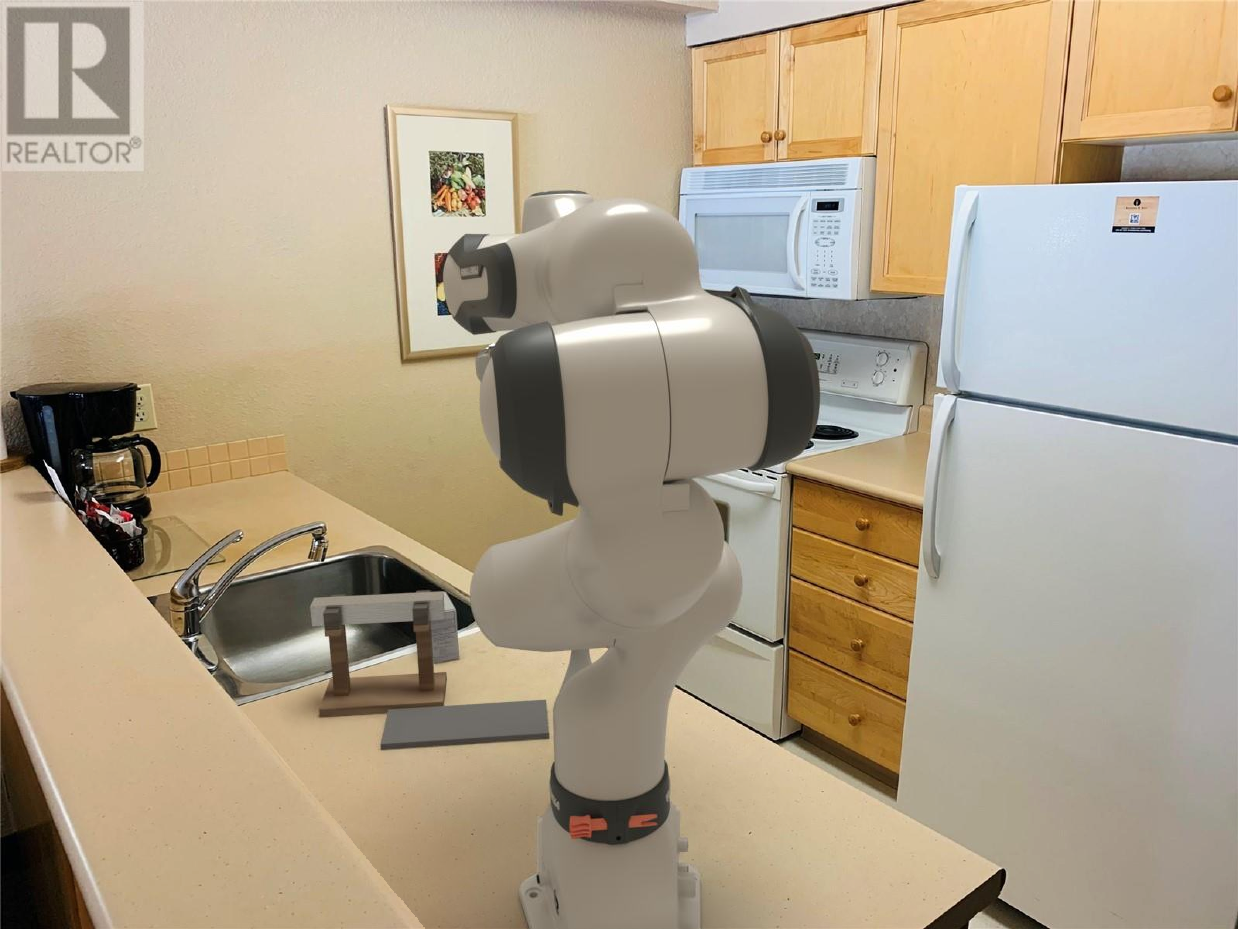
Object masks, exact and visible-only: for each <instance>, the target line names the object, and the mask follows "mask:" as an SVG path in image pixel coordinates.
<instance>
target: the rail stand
mask: <svg viewBox="0 0 1238 929" xmlns="http://www.w3.org/2000/svg"><path fill="white" fill-rule="evenodd" d="M415 591H416V592H415V593H421V592H432V590H431V589H430V590H429V589H427V590H415ZM340 596H347V595H346V593H345V594H331V595H330V597H340ZM412 610H413V621H412V623H413V624H412V625H413V626H412V627H413V633H415V637H416V638H415V640H416V641H415V642H416V656H417V669H418V670H417V671H418V673H408V674H407V673H406V674H405V673H404V674H388V675H373V676H358V677H357V676H356V677H354V676H353V677H350V675H351V674H350V667H349V666H350V665H349V654H348V644H347V642H348V641H347V631H346V625H341V616H340V608H337V609H325V610H324V612H323V617H324V626H323V627H324V637H326V638H328V643H329V652H330V667H331V674H332V675H331V676H332V678H329V681H328V683H327V687H326V689H325V692H324V695H323V697H322V700H321V704H319V708H318V713H319V716H318V717H319V718H328V717H343V716H345V717H346V716H359V715H374V714H375V715H376V714H377V715H378V714H387V713H388V709H403V708H419V707H435V706H445V698H446V691H447V690H446V689H447V680H448V677H447V676H448V675H447V674H448V673H447V671H441V672H440V671H438V672H435V669H434V664H435V663H433V647H432V631H431V620H429V614H428V604H415V605H413V608H412Z"/></svg>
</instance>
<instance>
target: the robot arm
mask: <svg viewBox="0 0 1238 929" xmlns="http://www.w3.org/2000/svg"><path fill="white" fill-rule="evenodd" d="M593 197H594V196H592V195H591V194H589V193H587V192H585V191H581V190H572V189H571V190H570V189H565V190H563V189H562V190H548V191H539V192H536V193H533V194H531V195H529V196H528V197H526V198H525V199H524V202H523V208H522V209H523V210H522V211H523V212H522V219H521V220H522V222H521V233H510V234H509V233H508V234H507V233H506V234H489V233H465V234H463V235H462V236H461V237H460V238H459V239H458V240H457V241H456V242H455V243H454V244H453V245H452V246H451V248H450V249H449V250H448V251H447V254H446V260H445V262H444V267H443V274H442V276H443V277H442V283H443V284H442V285H443V286H442V287H443V293H444V298H445V302H446V306H447V308H448V310H449V312H450V314H451V317H452V319H453V320H454V321H455V322H456V323H457V324H458V325H459V326H460V327H462V328H463V329H464V330H466V331H467V332H468V333H470V334H472V335H473V336H476V335H484V334H493V333H494V334H495V333H498V332H504V331H505V332H506V331H507V333H505V334H502V335H500V337H498V339H497V341H496V342H494V343H489V344H487V347H486V348H483V349H482V350H480V351H479V352H478V353H477V354H476V356H475V357H476V358H475V361H474V362H475V371H476V377H477V379H478V380H479V381H480V386H479V414H480V421H481V425H482V429H483V432H484V435H485V438H486V440H487V442H488V444H489V446H490V448H491V450H492V451H493V454H495V456H496V458H497V459H498V464H499V468H500V469H501V470H502V471H503V472H504V473H505V474H506V475H507V477H508V478H510V480H511V481H513V483H515V484H516V485H517V486H518V487H519V488H521V489H522V490H523V491H525V492H526V493H528V494H531V495H533V496H535V497H537V498H540V499H543V500H545V501H547V505H548V508H549V510H550V513H551V514H554V515H557V516H560V517H563V515H564V504H567V505H570V506H573V507H576V508H578V507H579V511H578V513H577V515H576V516H575V518H573V519H572V518H571V519H569V520H568V521H565V522H561V523H560V524H558V525H554V526H553V527H551V528H548V529H544V530H541V531H540V532H536V533H533V534H530V535H527V536H523V537H519V538H515V539H512V540H508V541H504V542H500V543H497V544H494V545H493V544H492V545H490V547H489V548H488V549H487V550H486V551H485V553H483V554H482V556H481V557H480V559H479V560H478V562H477V564H476V566H475V567H474V571H473V574H472V576H471V581H470V586H469V587H470V588H469V601H470V602H469V603H470V608H471V609H470V610H471V612H472V615H473V618H474V620H475V623H476V625H477V626H478V627H477V628H479V630H480V631H481V633H482V634H483V635H484V636H485V638H486V639H487V640H488V641H489V642H490V643H491V644H493V645H494V646H495V647H499V648H503V649H513V650H519V651H528V652H529V651H530V652H541V653H542V652H544V653H553V652H567V651H568V652H569V651H571V650H582V649H589V650H591V649H592V650H594V649H607V650H606V651H605V652H604V653H603V654H602V655H601V656H600V657H599V658H598V659H596V660H595V661H593V662H592V664H590V665H589V666H587V667H585V668H584V669H582V670H580V671H579V672H577V673H576V674H574V675H573V676H572V677H571V678H570V679H569V680H568V681H567V682H566V683H565V685H564V686H563V687H562V689H561V690H560V689H559V691H560V692H559V691H558V694H557V696H556V698H555V700H554V703H553V708H552V720H553V721H552V724H553V726H552V727H553V757H554V759H553V760H554V761H553V762H552V764H551V766H550V773H549V774H550V776H549V781H548V783H549V784H548V788H549V796H550V805H549V807H548V808H547V809H546V811H545V812H543V814H542V815H540V817H539V818H538V819H537V820H536V873H534V874H532V875H530V876H529V877H527V878H525V879H524V880H523V881H522V882H521V883H520V885H519V893H518V894H519V896H518V897H519V900H520V903H521V907H522V909H523V912H524V916H525V919H526V922H527V924H528V928H529V929H702V906H701V905H702V902H701V901H702V900H701V899H702V895H701V894H702V893H701V892H702V891H701V887H702V886H701V885H702V884H701V883H702V882H701V875H700V871H699V869H698V868H697V867H695V866H694V865H692V864H689V863H687V862H684V861H681V860H680V853H687V852H688V851H689V840H688V837H686V836H681V809H680V808H679V807H678V806H677V805H675V804H674V803H673V802H671V799H670V798H671V779H670V778H671V777H670V775H669V773H670V772H669V765H668V763H667V761H666V760H665V755H666V733H667V721H668V715H669V714H668V713H669V707H670V701H671V699H672V695H673V691H674V689H675V687H676V684H677V682H678V681H679V678H680V677H681V675H682V673H683V671H684V670H685V669H686V667H687V665H688V664H689V663H690V662H691V660H692V659H693V657H694V656H695V655H696V654H697V652H698V651H700V649H701V648H702V647H704V645H705V644H707V642H709V641H710V640H711V639H713V638H714V637H715V636H716V635H718V634H720V633H721V632H722V631H724V630H725V629H726V628H727V627H728V626H729V624H730V623H731V622H732V620H733V619H734V617H735V616H736V613H737V612H738V610H739V607H740V604H741V601H742V595H743V587H744V586H743V585H744V584H743V573H742V569H741V566H740V563H739V559H738V557H737V556H736V554H735V552H734V550H733V549H732V548H731V546H730V545H729V544H728V543H727V542H726V540H725V530H724V521H723V520H722V516H721V513H720V511H719V508H718V506H717V504H716V502H715V500H714V499H713V498H712V496H711V495H710V493H709V492H708V491H707V490H706V489H705V488H704V487H703V486H702V485H701V484H700V483H698V482H697V481H696V480H695V479H698V478H699V479H700V478H703V477H709V476H715V475H720V474H724V473H725V474H726V473H730V472H735V471H737V470H742V469H747V470H749V471H751V472H756V471H761V470H764V469H768V468H771V467H774V466H777V465H781V464H783V463H785V462H788V461H790V460H792V459H795V458H796V457H798V456H800V455H801V454H803V452H804V451H805V449H806V448H807V446H808V445H809V443H810V441H811V439H812V438H813V436H814V434H815V431H816V428H817V425H818V422H819V421H818V420H819V416H820V415H819V414H820V407H821V406H820V404H821V384H820V375H819V374H820V373H819V369H818V363H817V360H816V356H815V352H814V350H813V346H812V344H811V342H810V340H809V339H808V338H807V336H806V335H805V334H804V333H803V332H802V331H801V330H800V329H799V328H798V327H797V326H796V325H795V324H793V322H791V321H790V320H789V319H788V318H787V317H786V316H784V315H783V314H782V313H780V312H778V311H776V310H773V309H771V308H769V307H766V306H764V305H761V304H759V303H756V302H755V301H753V299H752V297H751V294H750V293H749V292H748V290H747V288H743V287H740V286H739V285H736V286H734V287H733V288H732V289H731V290H730V292H729V293H728V295H722V294H718V295H717V296H716V295H713V294H711V293H709V292H708V291H706V290H705V289H704V288H703V287H702V284H701V279H700V268H699V267H700V266H699V259H698V254H697V251H696V247H695V244H694V241H693V240H692V237H691V235H690V234H689V232H688V231H687V229H686V228H685V227H684V225H683V224H682V223H681V222H680V221H679V220H678V219H677V218H676V217H675V216H674V215H672V213H670V212H669V211H667V210H666V209H664V208H663V207H661V206H658V205H656V204H655V203H653V202H650V201H647V200H644V199H640V198H635V197H629V196H628V197H627V196H626V197H625V196H624V197H623V196H615V197H614V196H613V197H605V198H600V199H596V200H594V198H593Z"/></svg>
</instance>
